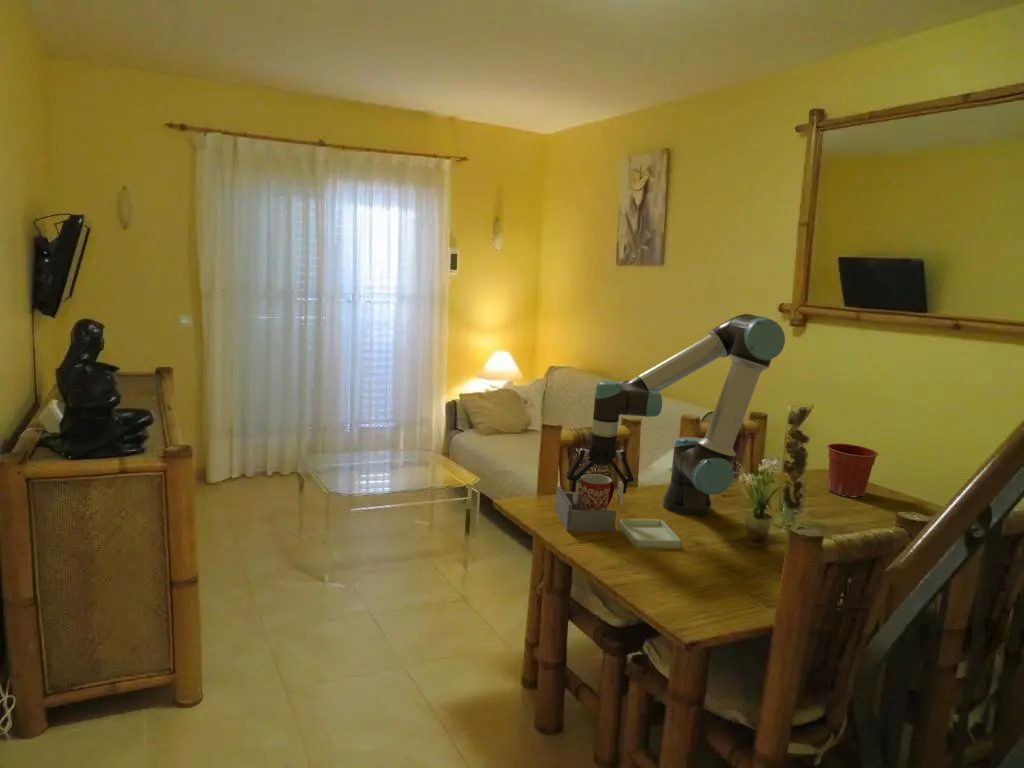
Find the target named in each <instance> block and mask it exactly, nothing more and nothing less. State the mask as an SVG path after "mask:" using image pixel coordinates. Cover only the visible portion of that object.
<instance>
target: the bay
mask: <svg viewBox="0 0 1024 768" xmlns="http://www.w3.org/2000/svg"><path fill="white" fill-rule="evenodd" d="M554 511H555V513H556V515H557V517H558V518H559V520H560V521H561V524H562V525H563V527H564V528H565V530H566V532H615V528H616V517H617V516H616V515H617V511H616V510H607V511H602V510H581V491H578V501H577V504H575V503H574V502H573V492H572V491H564V490H563V489H562V487H561V486H557V487H556V496H555V509H554Z"/></svg>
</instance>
